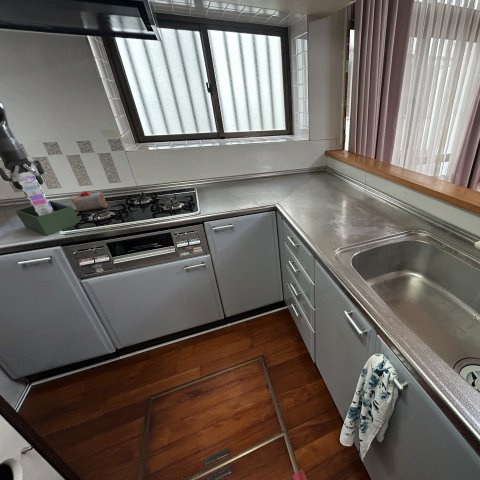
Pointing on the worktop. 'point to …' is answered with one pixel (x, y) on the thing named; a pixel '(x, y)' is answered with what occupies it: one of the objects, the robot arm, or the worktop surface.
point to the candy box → (35, 195)
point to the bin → (49, 218)
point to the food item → (89, 201)
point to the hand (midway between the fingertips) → (30, 186)
